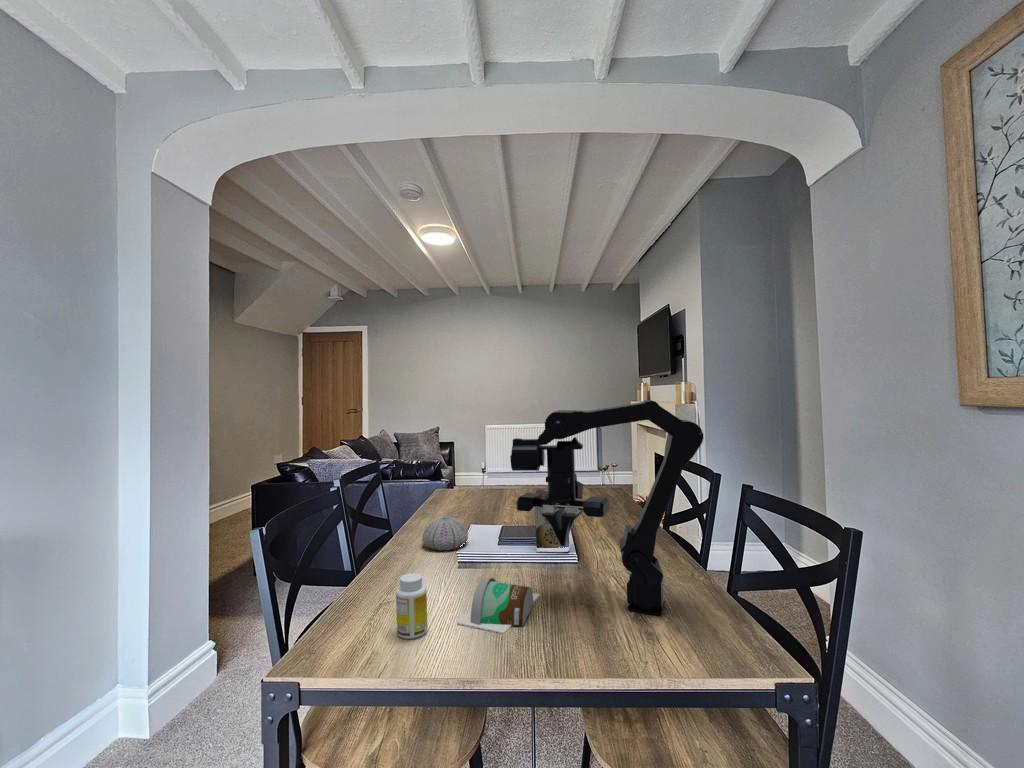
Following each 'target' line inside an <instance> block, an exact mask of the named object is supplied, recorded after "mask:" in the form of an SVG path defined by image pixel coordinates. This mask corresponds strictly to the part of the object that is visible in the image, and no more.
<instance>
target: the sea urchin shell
mask: <svg viewBox="0 0 1024 768" xmlns="http://www.w3.org/2000/svg"><path fill="white" fill-rule="evenodd" d="M421 537H422V538H421V541H422V544H424V546H425V547H427V548H429V549H432V550H435V551H436V550H437V551H441V552H442V551H443V552H444V551H446V552H447V551H451V550H457V549H460V548H461V547H460V546H461V545H462V544H463V543H465V542H466V541H467V542H468V539H469V532H468V529H467V528H466V527H465V526H464V524H463V523H461V522H460V521H459V520H458V519H456V518H453V517H448V516H444V517H443V516H442V517H441V518H436V519H435V520H432V521H431V522H430V523H428V524H427V526H426V527H425V528H424V530H423V532H422V536H421ZM467 542H466V543H467ZM459 547H460V548H459Z"/></svg>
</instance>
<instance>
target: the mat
mask: <svg viewBox="0 0 1024 768" xmlns="http://www.w3.org/2000/svg"><path fill="white" fill-rule="evenodd" d="M532 593H533V604H535V602H536V601H537V600H538V599H539V598H540V597H541V593H534V592H532ZM456 625H460V626H464V627H468V628H473V627H474V628H473V629H477V628H480V629H479V630H482V629H484V630H483V631H487V630H490V631H489V632H492V631H493V632H492V633H496V632H497V633H496V634H502V635H505V634H506V633H507V632H508V631H509V630H508V629H510V628H512V626H513V625H503V624H485V623H480V625H478V624H474V623H471V610H470V611H469V612H468V613H466V614H465V615H464V616H463V617H462V618H461V619H460V620H458V621H456Z"/></svg>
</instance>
